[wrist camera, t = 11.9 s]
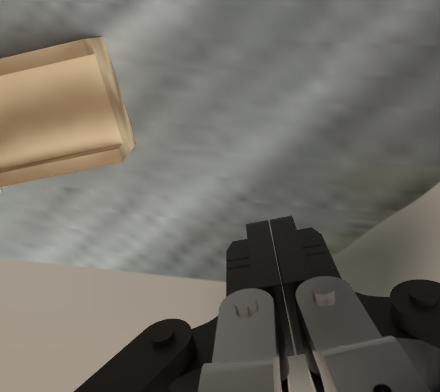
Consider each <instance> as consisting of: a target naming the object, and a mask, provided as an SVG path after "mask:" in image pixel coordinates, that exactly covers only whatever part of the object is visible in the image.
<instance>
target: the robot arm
mask: <svg viewBox="0 0 440 392" xmlns="http://www.w3.org/2000/svg"><path fill="white" fill-rule="evenodd" d="M270 224H271V229H272V235H273V240H274V246H275V251H276V256H277V261H276V257H275V252H274V247H273V242H272V237H271V233H270V228H269V223H268V220H266V221H260V222H255V223H250V224H246V228H247V239H245V240H239V241H234V242H232V244H231V245H230V247H229V248H228V250H227V251H226V261H227V263H226V269H227V271H226V284H227V285H226V286H227V287H226V288H227V289H226V296H227V297H226V298H225V299H224V300H223V301H222V303H221V305H220V308H219V314H218V316H217V317H216V318H214V319H213V320H211V321H210V322H208V323H205V324H203V325H201V326H198V327H196V328H193V329H191V327H190V326H189V324H188V323H187V322H185V321H183V320H180V319H166V320H162V321H159V322H156V323H154V324H153V325H151V326H149V327H148V328H147V329H145V330H144V331H143V332H142V333H141V334H140V335H138V336H137V337H136V338H135V339H134V340H133V341H131V343H129V344H128V345H127V346H126V347H124V348H123V349H122V350H121V351H120V352H119V353H118V354H116V355H115V356H114V357H113V358H112V359H111V360H110V361H108V362H107V363H106V364H105V365H104V366H103V367H102V368H100V369H99V370H98V371H97V372H96V373H95V374H94V375H92V376H91V377H90V378H89V379H88V380H87V381H86V382H85V383H83V384H82V385H81V386H80V387H79V388H77V389H76V390H75V391H74V392H290V383H289V377H288V374H289V363H288V358H287V356H293V355H294V350H293V345H292V339H291V334H290V329H289V323H288V318H287V313H286V307H285V302H284V296H285V300H286V306H287V310H288V315H289V320H290V324H291V329H292V334H293V339H294V343H295V348H296V353H297V355H299V354H305V356H306V361H307V366H308V372H309V377H310V381H311V384H312V387H313V391H314V392H440V283H438V282H434V281H429V280H410V281H405V282H403V283H400V284H398V285H397V286H395V287H394V288H393V289H392V291H391V293H390V297H375V296H367V295H363V294H359V293H357V292H354V290H353V289H352V287H351V286H350V285H349V284H348V283H347V282H346V281H344V280H342V279H341V277H340V274H339V273H338V270H337V268H336V266H335V263H334V261H333V259H332V257H331V254H330V253H329V250H328V248H327V245H326V243H325V241H324V239H323V237H322V234H320V233H319V232H317V231H316V230H314V229H313V228H306V229H300V230H297V229H296V226H295V223H294V220H293V217H292V216H287V217H282V218H276V219H271V220H270ZM277 262H278V266H277ZM278 267H279V271H278ZM279 272H280V276H279ZM280 277H281V280H280ZM281 282H282V285H281ZM282 287H283V291H284V296H283V291H282Z"/></svg>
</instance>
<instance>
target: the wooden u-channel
mask: <svg viewBox="0 0 440 392" xmlns="http://www.w3.org/2000/svg"><path fill="white" fill-rule="evenodd" d="M135 145H136V142H135V139H134V135H133V132H132V129H131V125H130V122H129V119H128V116H127V112H126V109H125V106H124V102H123V99H122V96H121V93H120V89H119V86H118V83H117V79H116V76H115V73H114V69H113V66H112V63H111V60H110V56H109V53H108V50H107V46H106V43H105V40H104V37H97V38H88V39H81V40H77V41H73V42H69V43H64V44H60V45H56V46H52V47H47V48H43V49H39V50H35V51H31V52H26V53H22V54H18V55H14V56H9V57H5V58H1V59H0V187H2V186H7V185H12V184H17V183H22V182H27V181H32V180H37V179H41V178H46V177H51V176H56V175H61V174H66V173H71V172H76V171H81V170H85V169H90V168H95V167H100V166H105V165H110V164H115V163H120V162H123V161H124V159H125V158H126V157H127V155H128V154H129V153H130V151H131V150H132V149H133V147H134V146H135Z"/></svg>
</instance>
